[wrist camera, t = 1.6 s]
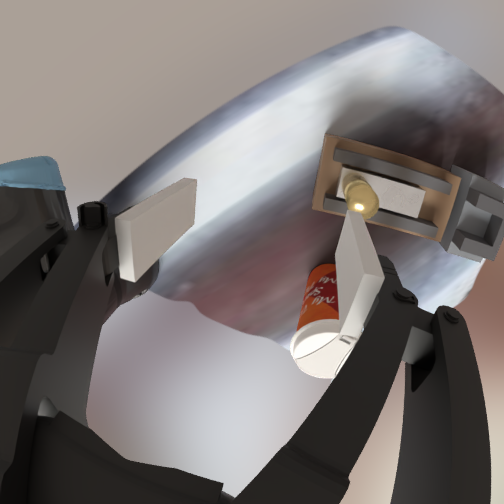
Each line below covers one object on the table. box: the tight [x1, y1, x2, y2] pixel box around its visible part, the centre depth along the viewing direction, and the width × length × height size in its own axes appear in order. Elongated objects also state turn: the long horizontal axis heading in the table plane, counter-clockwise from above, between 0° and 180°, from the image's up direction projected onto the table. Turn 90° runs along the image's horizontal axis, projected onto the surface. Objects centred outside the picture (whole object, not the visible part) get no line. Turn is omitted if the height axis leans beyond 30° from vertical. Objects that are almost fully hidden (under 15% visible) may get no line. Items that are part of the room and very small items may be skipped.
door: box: [312, 133, 461, 242], centre depth 29 cm, size 16×8×8 cm, turn 82°
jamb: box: [439, 164, 504, 263], centre depth 27 cm, size 6×10×9 cm, turn 172°
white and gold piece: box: [335, 164, 426, 219], centre depth 24 cm, size 9×3×8 cm, turn 82°
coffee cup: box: [290, 264, 362, 378], centre depth 34 cm, size 8×8×15 cm
